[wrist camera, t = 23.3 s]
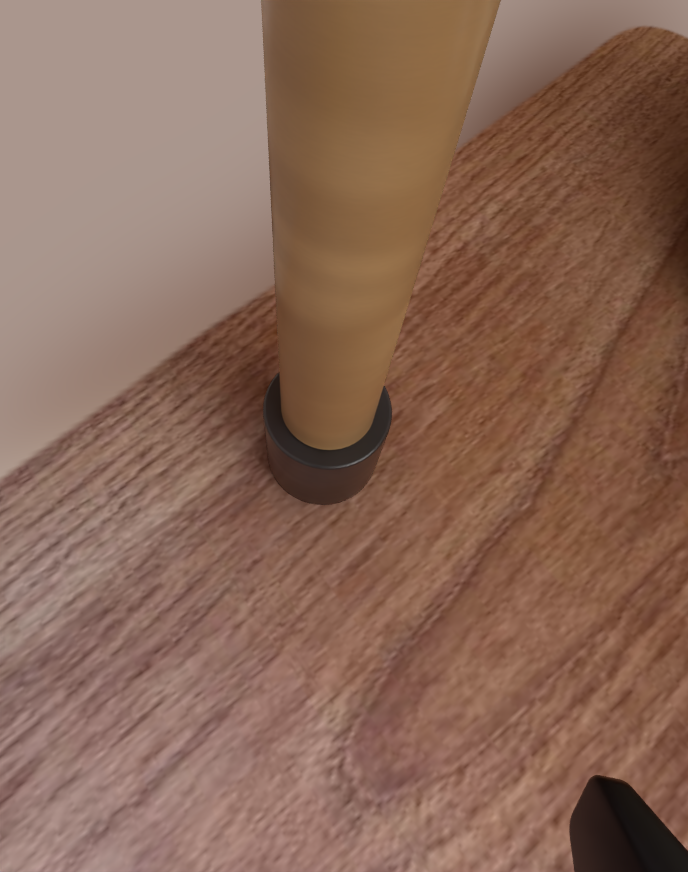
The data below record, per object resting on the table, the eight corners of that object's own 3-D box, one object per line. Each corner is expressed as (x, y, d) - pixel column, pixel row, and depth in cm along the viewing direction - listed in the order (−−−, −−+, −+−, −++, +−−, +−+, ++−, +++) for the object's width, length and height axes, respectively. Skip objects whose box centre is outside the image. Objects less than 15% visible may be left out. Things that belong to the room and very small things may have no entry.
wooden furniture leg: (324, 528, 18) (416, 61, 4) (245, 453, 19) (115, -142, 5) (397, 452, 19) (649, -98, 6) (320, 385, 20) (377, -244, 6)
